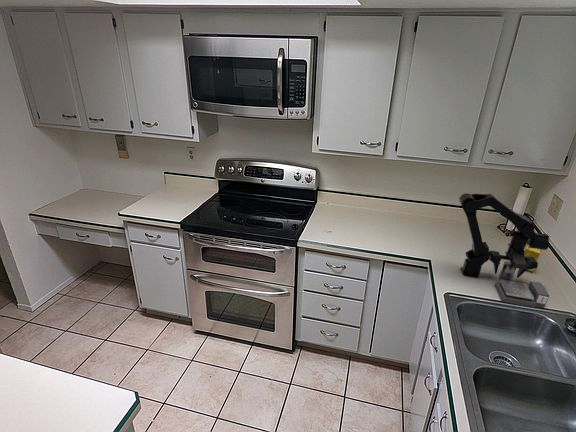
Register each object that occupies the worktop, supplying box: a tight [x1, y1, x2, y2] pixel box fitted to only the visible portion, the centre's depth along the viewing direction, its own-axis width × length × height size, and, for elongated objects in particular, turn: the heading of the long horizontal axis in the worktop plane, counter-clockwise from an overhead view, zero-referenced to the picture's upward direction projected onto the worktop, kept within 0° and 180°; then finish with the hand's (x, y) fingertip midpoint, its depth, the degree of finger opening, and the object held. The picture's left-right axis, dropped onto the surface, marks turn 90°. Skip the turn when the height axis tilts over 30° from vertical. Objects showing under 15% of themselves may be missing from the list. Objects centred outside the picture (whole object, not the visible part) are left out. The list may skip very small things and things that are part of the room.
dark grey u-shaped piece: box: [494, 280, 550, 309], centre depth 148 cm, size 16×12×6 cm
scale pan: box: [499, 279, 534, 300], centre depth 148 cm, size 10×10×1 cm
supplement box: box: [524, 244, 542, 273], centre depth 168 cm, size 6×6×11 cm
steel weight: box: [498, 260, 517, 281], centre depth 159 cm, size 5×5×8 cm
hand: (506, 275), depth 160 cm, fingers open, 9 cm apart
